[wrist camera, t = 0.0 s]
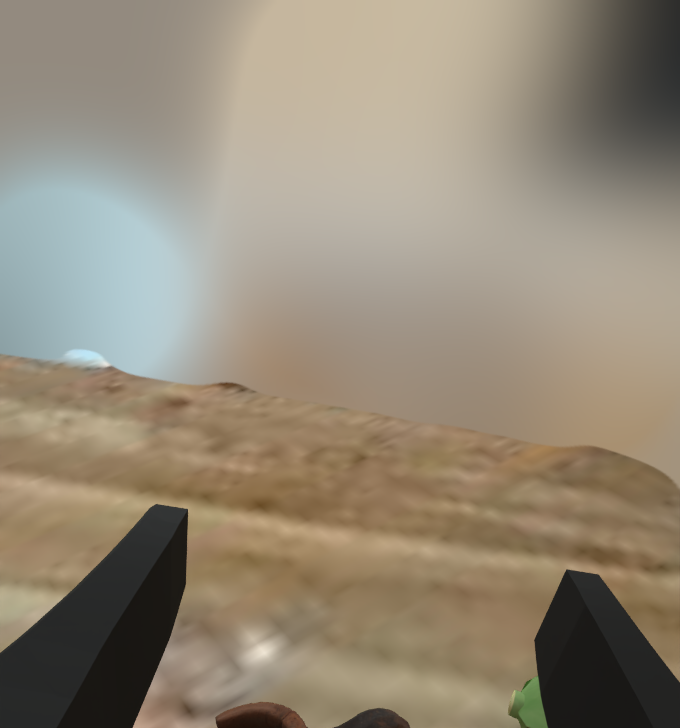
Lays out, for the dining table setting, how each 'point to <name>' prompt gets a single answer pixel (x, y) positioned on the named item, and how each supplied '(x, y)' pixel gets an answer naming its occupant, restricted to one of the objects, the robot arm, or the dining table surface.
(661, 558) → the dining table surface
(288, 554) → the dining table surface
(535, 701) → the edible corn
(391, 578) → the dining table surface
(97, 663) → the robot arm
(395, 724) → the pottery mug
